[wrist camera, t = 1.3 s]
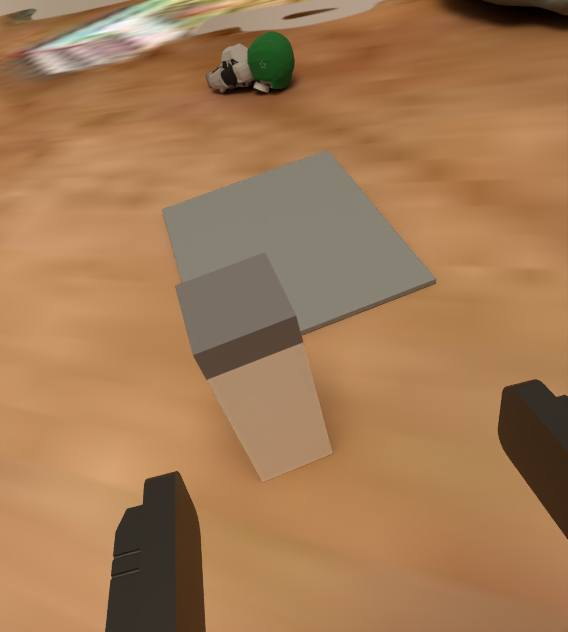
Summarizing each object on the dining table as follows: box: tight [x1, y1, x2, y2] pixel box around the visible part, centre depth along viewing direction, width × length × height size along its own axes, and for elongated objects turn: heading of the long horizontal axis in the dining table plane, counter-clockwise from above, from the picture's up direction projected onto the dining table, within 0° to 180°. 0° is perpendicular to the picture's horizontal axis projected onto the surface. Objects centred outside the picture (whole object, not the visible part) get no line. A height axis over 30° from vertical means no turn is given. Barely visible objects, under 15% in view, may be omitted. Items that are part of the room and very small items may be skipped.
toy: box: [206, 31, 295, 93], centre depth 72 cm, size 9×7×15 cm
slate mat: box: [162, 150, 436, 335], centre depth 48 cm, size 20×24×1 cm
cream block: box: [175, 252, 333, 482], centre depth 29 cm, size 5×5×14 cm
